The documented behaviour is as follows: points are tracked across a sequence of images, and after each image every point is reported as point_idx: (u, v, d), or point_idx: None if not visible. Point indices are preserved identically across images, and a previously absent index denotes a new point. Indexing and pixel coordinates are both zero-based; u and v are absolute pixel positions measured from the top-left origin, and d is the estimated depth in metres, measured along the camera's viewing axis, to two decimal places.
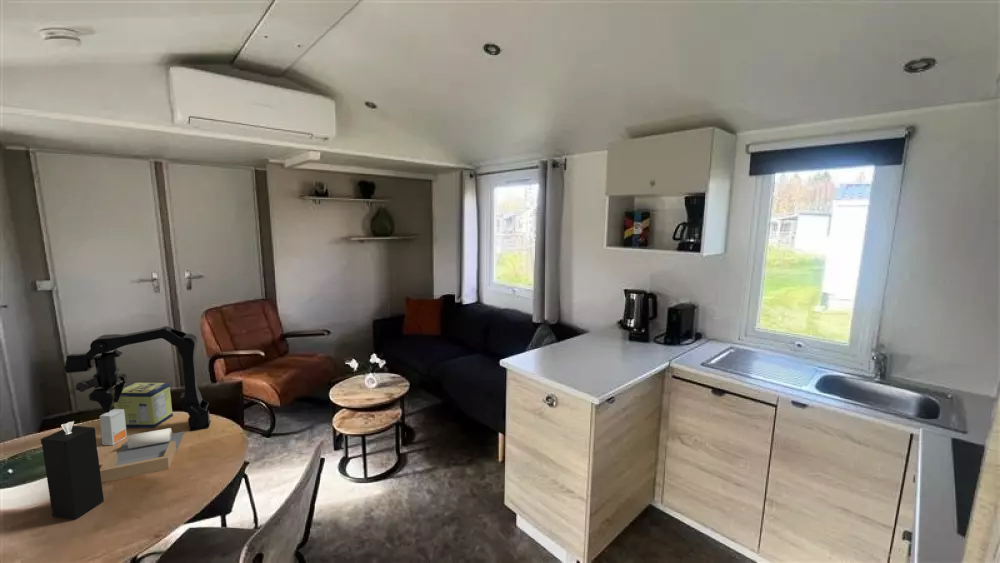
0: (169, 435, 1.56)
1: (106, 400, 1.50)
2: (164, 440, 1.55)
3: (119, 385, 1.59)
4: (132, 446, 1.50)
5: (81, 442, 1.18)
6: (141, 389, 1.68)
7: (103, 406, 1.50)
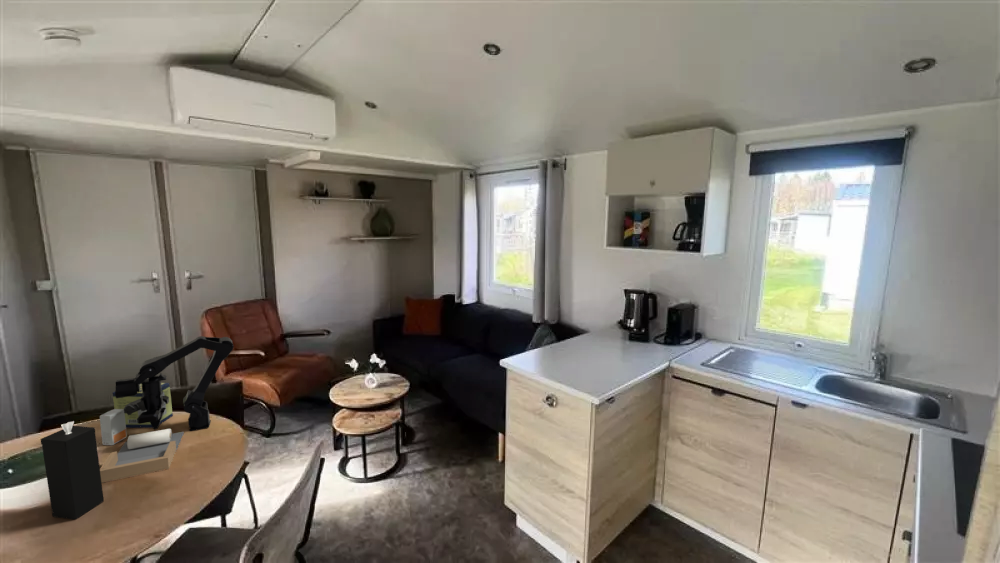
0: (169, 436, 1.56)
1: None
2: (164, 442, 1.55)
3: (159, 412, 1.62)
4: (132, 447, 1.50)
5: (81, 442, 1.18)
6: (141, 389, 1.68)
7: (152, 423, 1.60)
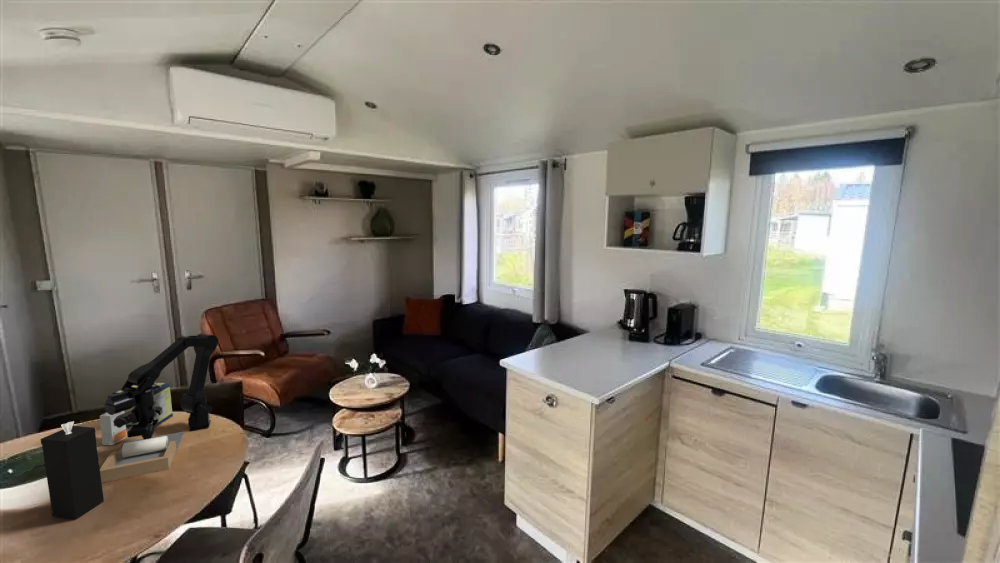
0: (167, 444, 1.53)
1: None
2: None
3: (152, 424, 1.52)
4: None
5: (81, 442, 1.18)
6: None
7: (144, 436, 1.50)
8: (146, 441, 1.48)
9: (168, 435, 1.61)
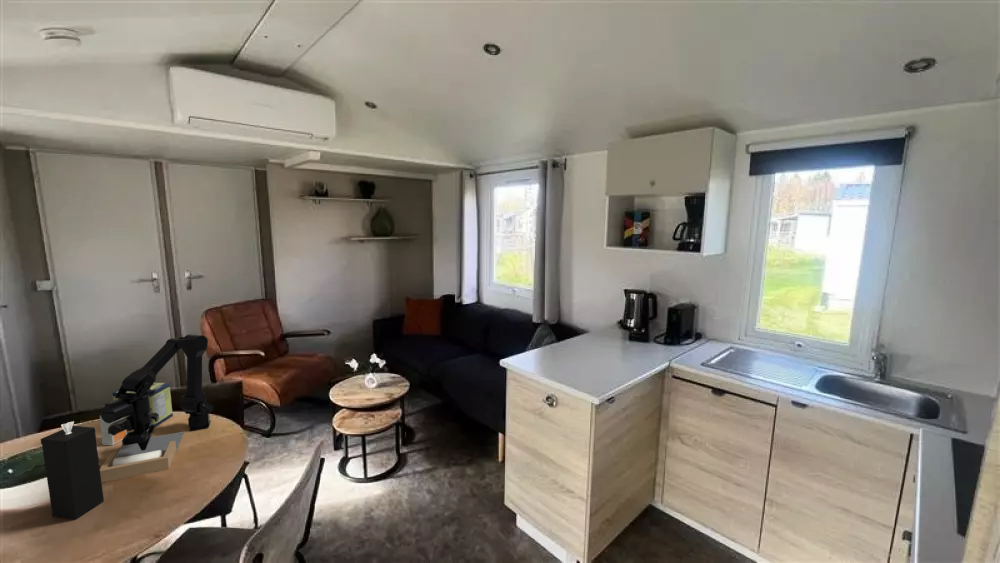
0: None
1: None
2: None
3: (148, 431, 1.47)
4: None
5: (81, 442, 1.18)
6: None
7: (140, 444, 1.45)
8: None
9: (168, 435, 1.61)
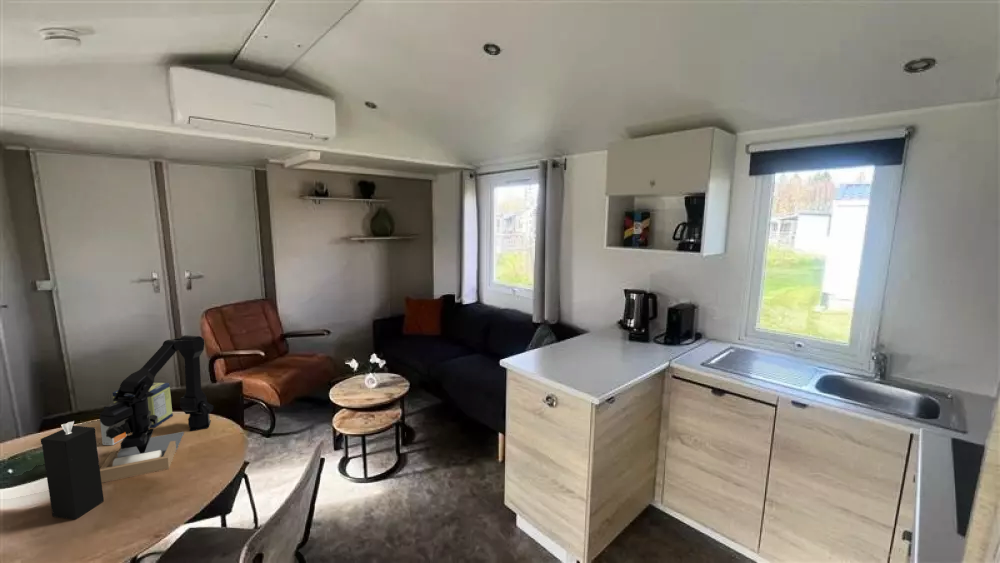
0: None
1: None
2: None
3: (146, 434, 1.46)
4: None
5: (81, 442, 1.18)
6: None
7: (138, 447, 1.44)
8: None
9: (168, 435, 1.61)
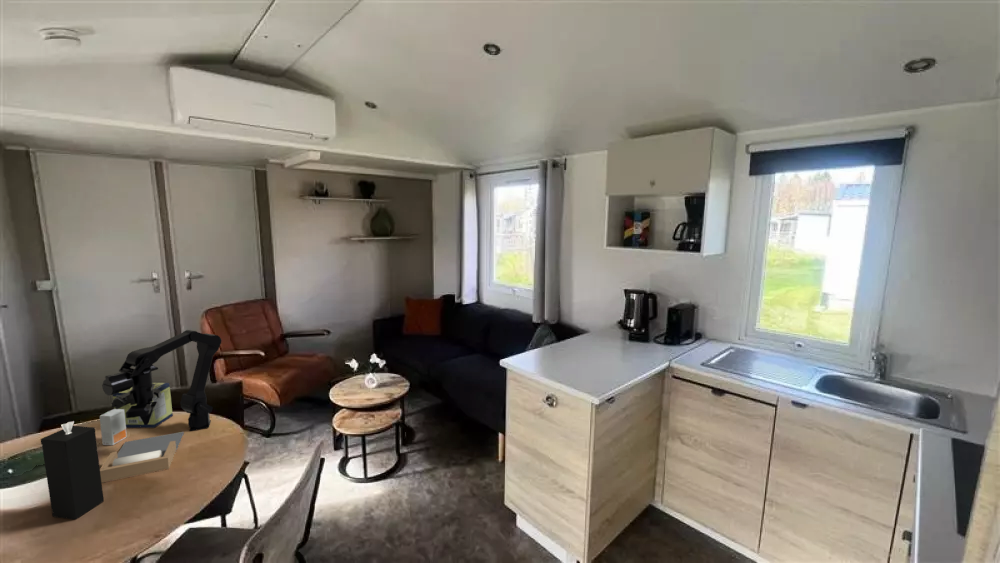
0: None
1: None
2: None
3: (150, 406, 1.52)
4: None
5: (81, 442, 1.18)
6: None
7: (142, 418, 1.49)
8: None
9: (168, 435, 1.61)
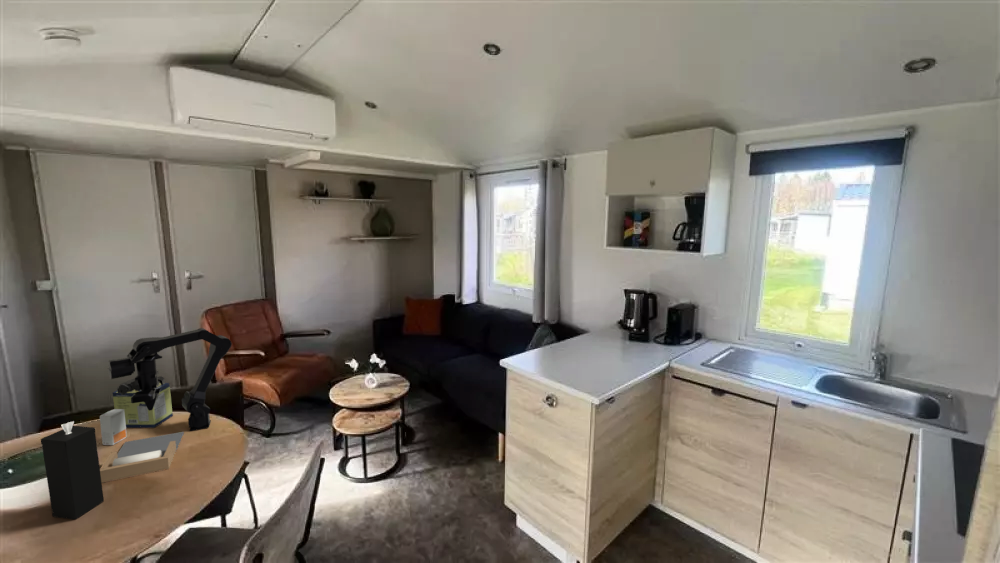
0: None
1: None
2: None
3: (154, 392, 1.57)
4: None
5: (81, 442, 1.18)
6: None
7: (147, 404, 1.55)
8: None
9: (168, 435, 1.61)
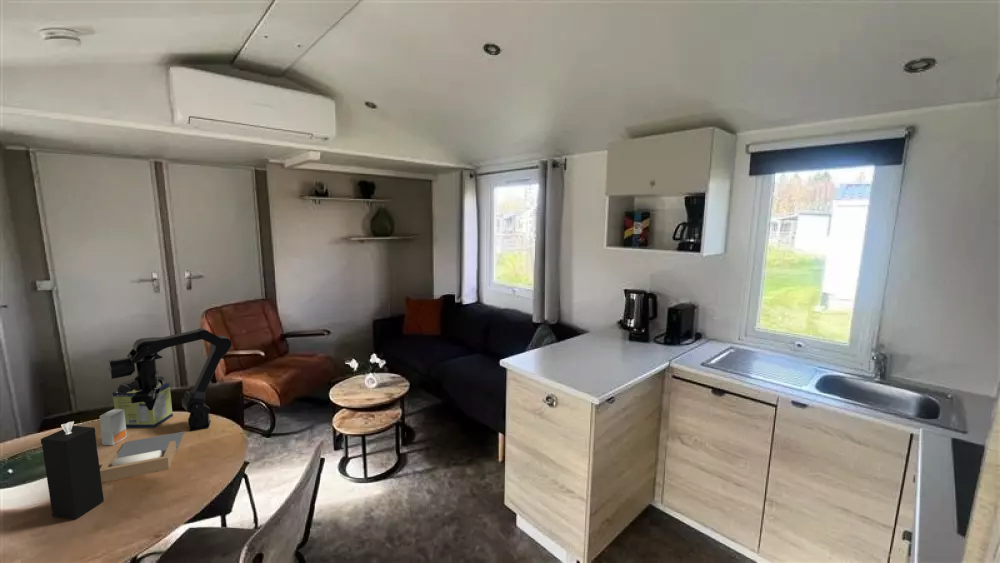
0: None
1: None
2: None
3: (154, 392, 1.57)
4: None
5: (81, 442, 1.18)
6: None
7: (147, 404, 1.55)
8: None
9: (168, 435, 1.61)
